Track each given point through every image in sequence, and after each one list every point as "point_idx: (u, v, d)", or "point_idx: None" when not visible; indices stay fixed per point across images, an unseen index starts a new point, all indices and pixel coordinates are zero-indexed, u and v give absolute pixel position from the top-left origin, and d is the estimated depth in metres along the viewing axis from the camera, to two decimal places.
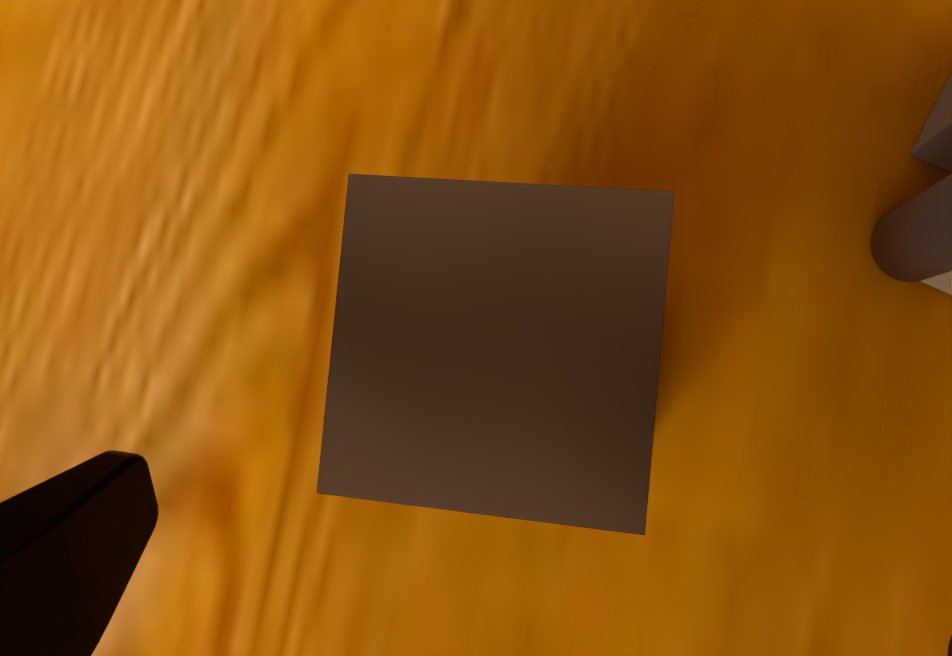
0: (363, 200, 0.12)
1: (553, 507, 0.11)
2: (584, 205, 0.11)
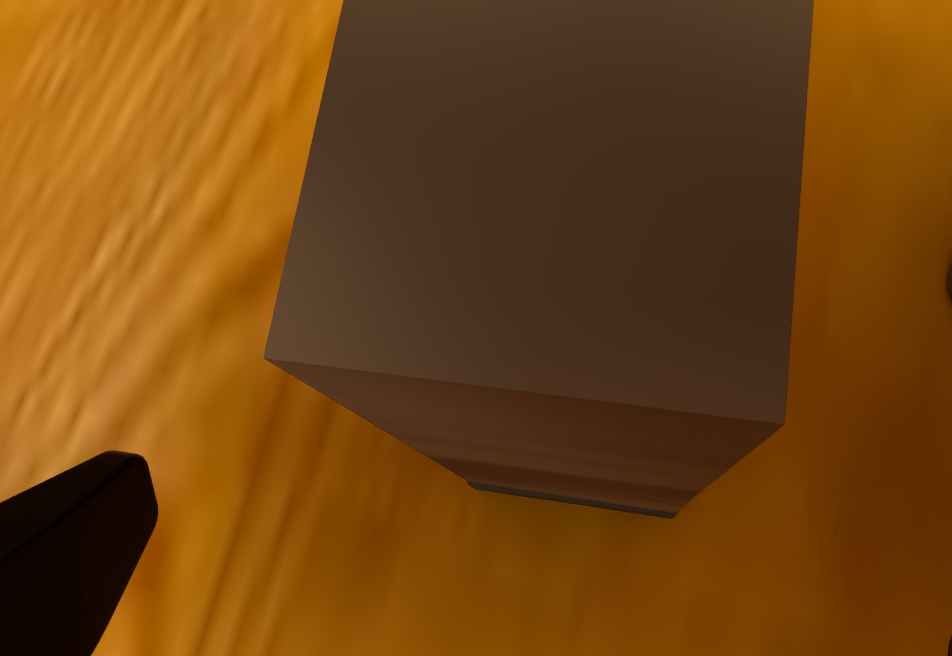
0: None
1: (635, 380, 0.07)
2: None
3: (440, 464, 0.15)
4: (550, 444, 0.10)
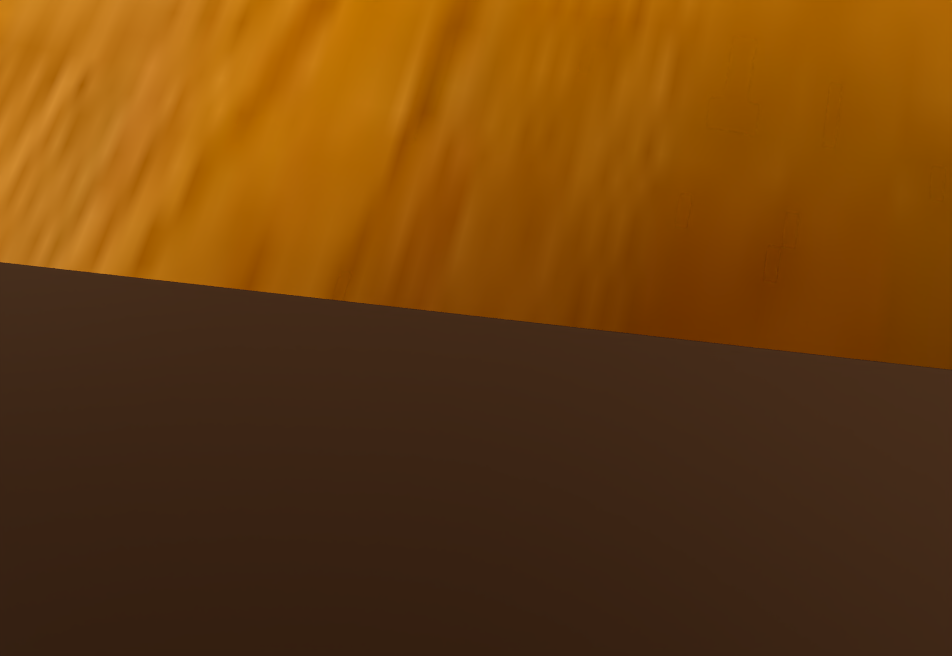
0: None
1: None
2: (658, 403, 0.03)
3: None
4: None
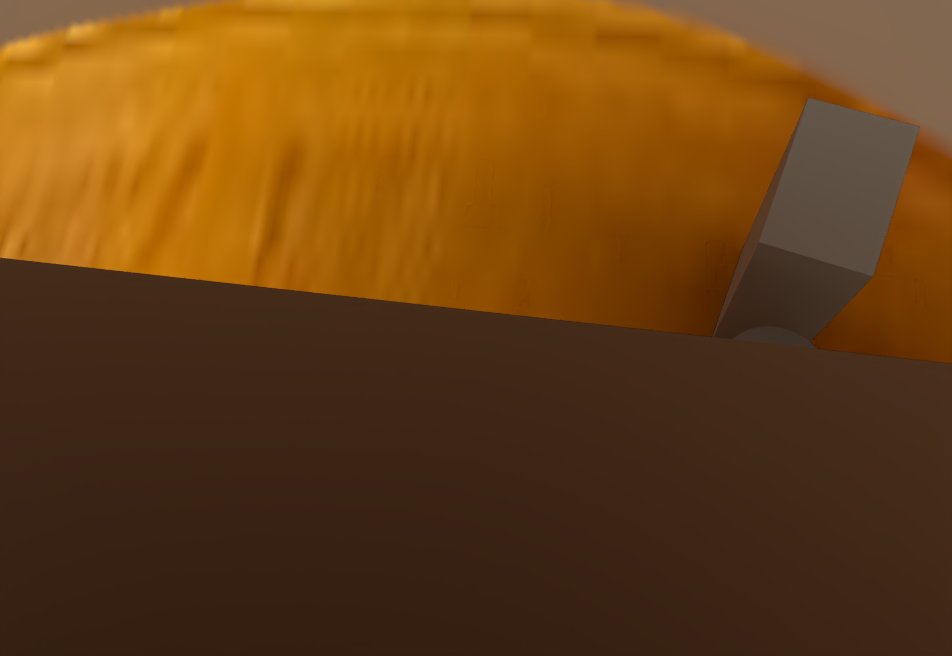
0: None
1: None
2: (650, 395, 0.03)
3: None
4: None
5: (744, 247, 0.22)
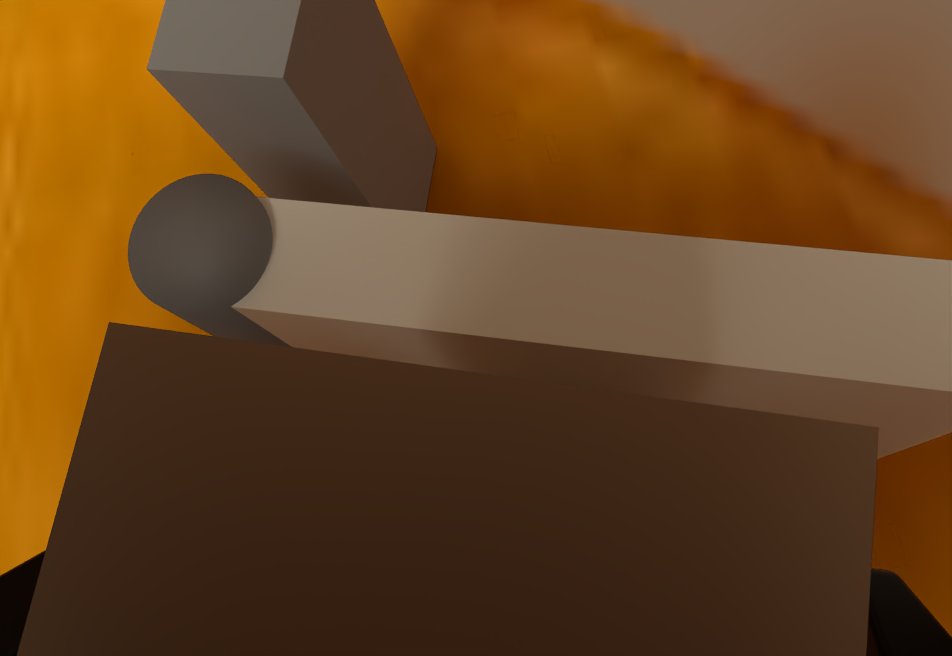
0: (131, 385, 0.05)
1: None
2: (648, 442, 0.04)
3: None
4: None
5: None
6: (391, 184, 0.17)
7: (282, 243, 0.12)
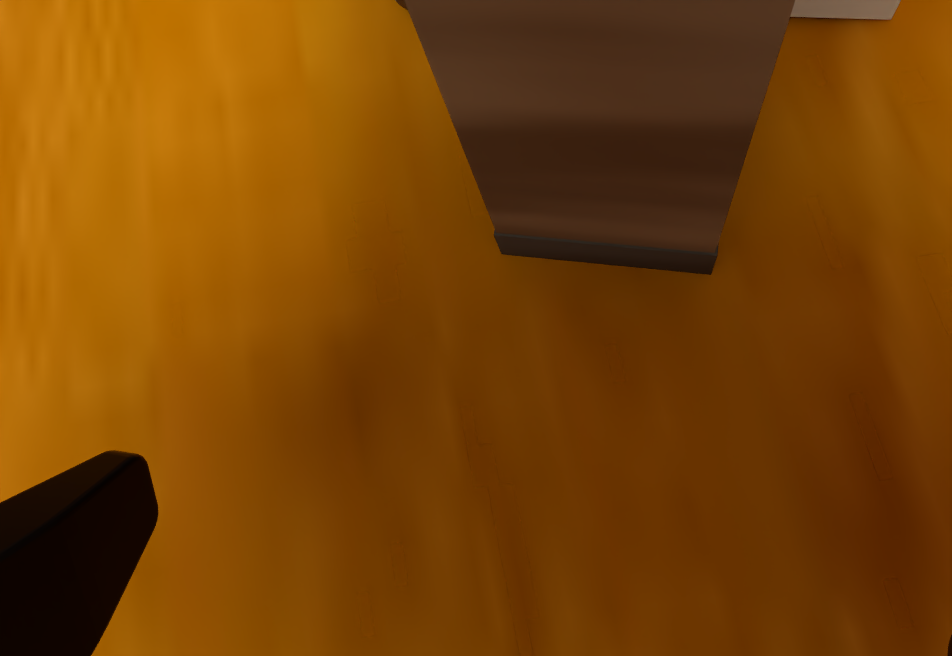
0: None
1: None
2: None
3: (467, 159, 0.14)
4: None
5: None
6: None
7: None
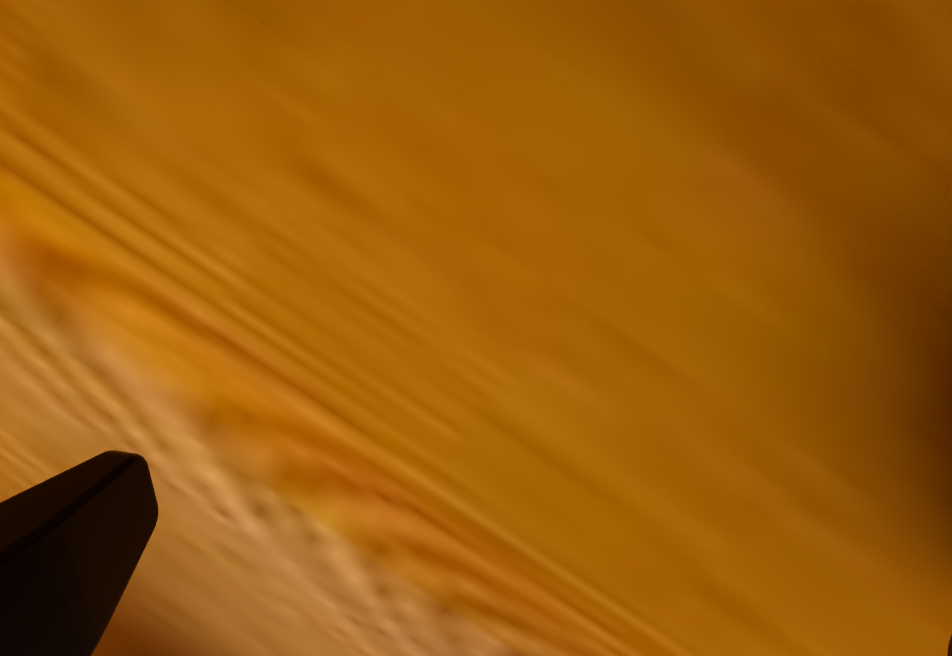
0: None
1: None
2: None
3: None
4: None
5: None
6: None
7: None
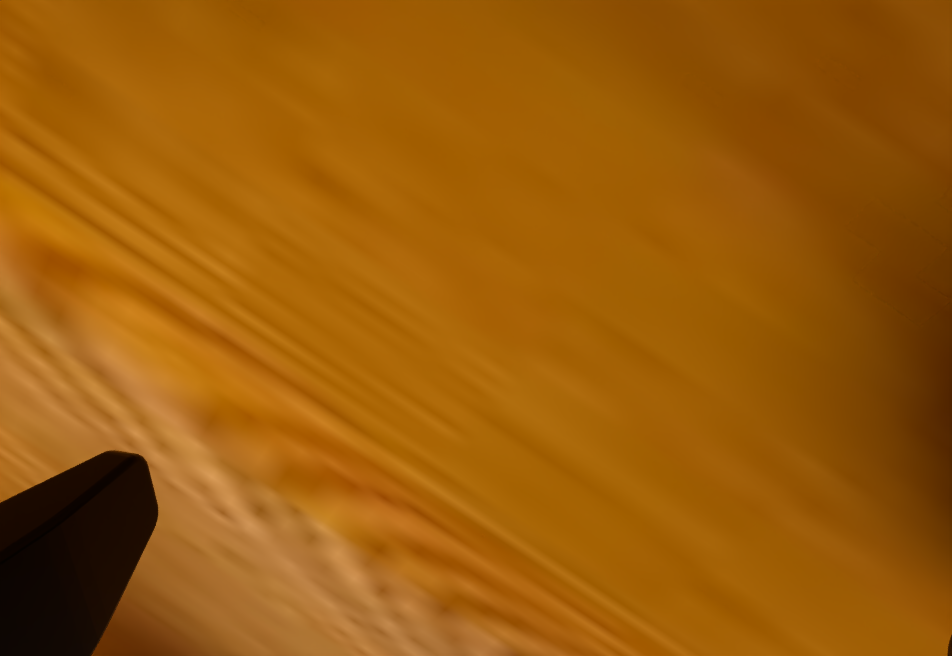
0: None
1: None
2: None
3: None
4: None
5: None
6: None
7: None
